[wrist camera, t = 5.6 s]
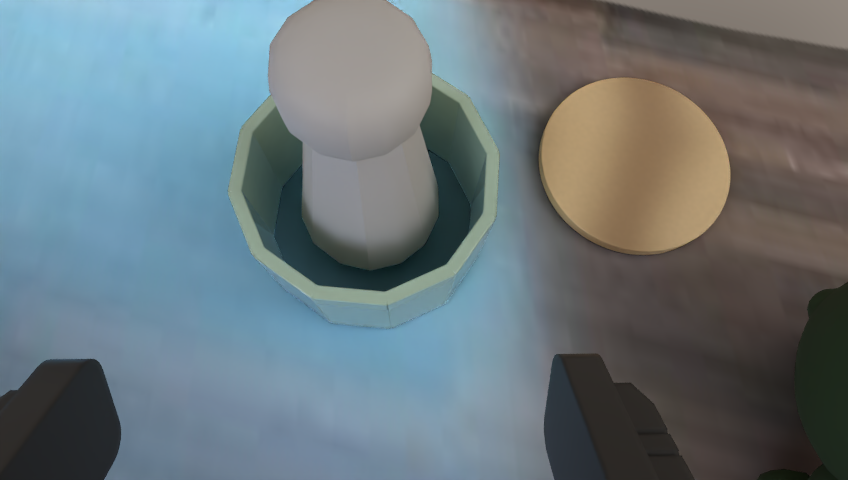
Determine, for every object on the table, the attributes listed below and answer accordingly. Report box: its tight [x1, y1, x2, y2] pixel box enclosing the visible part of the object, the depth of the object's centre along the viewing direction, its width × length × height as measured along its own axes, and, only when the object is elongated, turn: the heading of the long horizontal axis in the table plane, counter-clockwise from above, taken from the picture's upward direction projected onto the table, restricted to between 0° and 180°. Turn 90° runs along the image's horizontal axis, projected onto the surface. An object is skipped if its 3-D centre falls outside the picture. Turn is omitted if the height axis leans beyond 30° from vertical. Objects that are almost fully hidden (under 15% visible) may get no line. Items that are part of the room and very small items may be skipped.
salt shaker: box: [268, 0, 439, 271], centre depth 20 cm, size 6×6×13 cm
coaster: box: [539, 77, 730, 255], centre depth 27 cm, size 9×9×1 cm
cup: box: [228, 73, 500, 329], centre depth 24 cm, size 10×10×6 cm
